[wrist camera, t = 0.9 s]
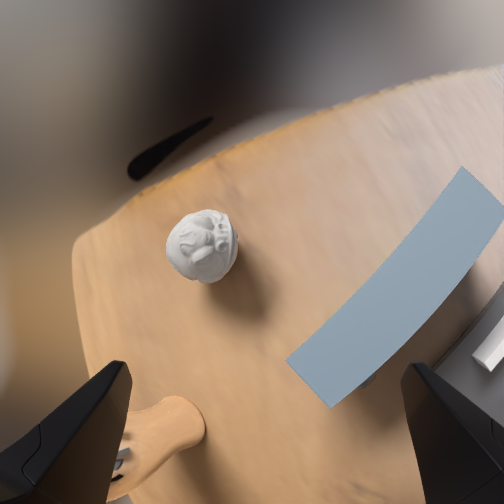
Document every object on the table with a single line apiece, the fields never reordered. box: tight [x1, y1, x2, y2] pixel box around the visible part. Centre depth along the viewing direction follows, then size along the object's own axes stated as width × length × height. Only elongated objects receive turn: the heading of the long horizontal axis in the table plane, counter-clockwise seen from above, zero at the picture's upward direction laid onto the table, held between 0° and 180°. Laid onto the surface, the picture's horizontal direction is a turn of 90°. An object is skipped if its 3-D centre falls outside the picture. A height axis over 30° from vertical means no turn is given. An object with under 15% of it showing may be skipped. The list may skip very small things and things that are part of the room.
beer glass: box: [106, 395, 205, 503], centre depth 20 cm, size 7×7×15 cm
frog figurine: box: [166, 210, 238, 283], centre depth 25 cm, size 6×7×7 cm
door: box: [285, 166, 504, 409], centre depth 17 cm, size 4×14×10 cm, turn 134°
